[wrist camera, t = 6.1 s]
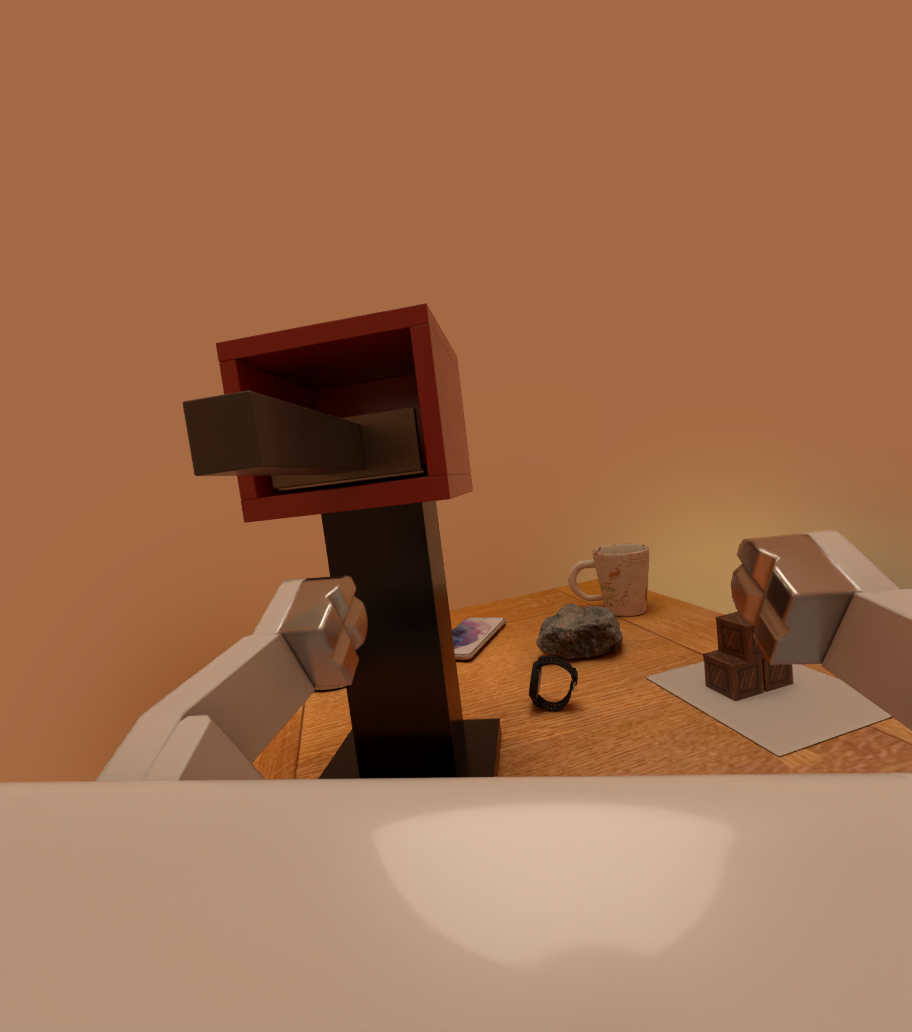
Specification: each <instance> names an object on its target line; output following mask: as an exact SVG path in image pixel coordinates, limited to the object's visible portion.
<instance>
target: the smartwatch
mask: <svg viewBox="0 0 912 1032" xmlns="http://www.w3.org/2000/svg"><path fill="white" fill-rule="evenodd" d="M556 659H557V660H556ZM552 661H554V662H552ZM556 662H558V663H556ZM560 663H561V664H560ZM548 664H555V665H559V666H561V667H563V668H564V669H566V670H567V671H568V672H569V673H570V674H571V677H572V679H573V680H572V681H571V684H570V690H569V692H568V694H567V695H566V696H565V697H564V698H563V699H562V700H561V701H559V702H549V701H546V700H545V699H543V698H542V697H541V696H540V695H539V688H540V681H541V673H542V667H543V666H545V665H548ZM577 680H578V673H577V670H576V668H573V667H572V666H571V665H570V664H569V663H568V662H567V661H565V660H563V659H561V658H559V657H553V656H542V657H539V658H538V660H537V661H536V662H534V663H533V668H532V674H531V681H530V689H529V696H530V698H531V699H532V702H533V704H534V705H536V706H538V707H540V708H542V709H545V710H548V711H559V710H561V709H563V708H564V707H565V706H566V705H567V703H568V702H569V699H570V697H571V691H573V690H574V688H575V686H576V685H577ZM547 703H548V704H549V705H548V704H547ZM551 704H552V705H551ZM558 704H559V705H558ZM543 705H544V706H543ZM555 705H556V706H555ZM547 707H548V708H547ZM550 708H552V709H550ZM554 708H555V709H554Z"/></svg>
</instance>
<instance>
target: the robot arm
mask: <svg viewBox="0 0 912 1032" xmlns="http://www.w3.org/2000/svg"><path fill="white" fill-rule="evenodd" d="M737 556H738V557H739V559H740V560H741V562H742V563H743V564H741V565H740V566H739V567H738V568H737V569H736V570H735V571H734V572H733V575H732V581H731V590H732V598H733V601H734V603H735V606H736V609H737V610H738V612H739V614H740V615H741V617H742V618H743V619H745V620H746V621H748V622H749V623H751V624H753V625H754V626H755V630H754V633H753V637H754V639H755V641H756V642H757V644H758V646H759V647H760V649H761V651H762V652H763V654H764V655H765V657H766V659H767V660H768V662H769V664H770V665H787V664H822V667H824V668H825V669H827V670H828V671H829V672H831V673H832V674H834V675H835V676H836V677H838V678H839V679H841V680H842V681H843V682H845V683H846V684H848V685H849V686H850V687H852V688H853V689H855V690H856V691H857V692H859V693H860V694H862V695H863V696H864V697H866V698H867V699H869V700H870V701H871V702H873V703H874V704H876V705H877V706H878V707H880V708H881V709H883V710H884V711H885V712H887V713H888V714H890V715H891V716H892V717H894V718H895V719H897V720H898V721H899V722H901V723H902V724H904V725H905V726H906V727H908V728H909V729H911V730H912V589H905V590H900V589H899V588H898V587H897V586H896V585H895V584H894V583H893V582H892V581H890V580H889V579H888V578H887V577H886V576H885V575H884V574H883V573H882V572H881V571H880V570H879V569H877V567H875V566H874V565H873V564H872V563H871V562H870V561H869V560H868V559H867V558H866V557H865V556H864V555H863V554H862V553H861V552H860V551H859V550H858V549H856V548H855V547H854V546H853V545H852V544H851V543H850V542H849V541H848V540H847V539H846V538H845V537H844V536H843V535H842V534H840V533H839V532H836V531H834V530H825V531H816V532H807V533H801V534H792V535H781V536H771V537H761V538H751V539H744V540H743V541H742V542H741V544H740V545H739V549H738V553H737ZM355 591H356V586H355V584H354V582H353V580H352V578H351V577H349V576H336V577H321V578H307V579H298V580H287V581H285V582H283V583H282V584H281V585H280V587H279V589H278V591H277V592H276V594H275V596H274V598H273V599H272V601H271V603H270V604H269V606H268V608H267V610H266V611H265V613H264V615H263V617H262V619H261V620H260V622H259V624H258V625H257V627H256V629H255V631H254V633H253V634H252V636H245V637H244V638H243V639H241V640H240V641H238V642H237V643H236V644H235V645H233V646H232V647H230V648H229V649H228V650H226V651H225V652H224V653H223V654H221V655H220V656H219V657H217V658H216V659H215V660H213V661H212V662H211V663H209V664H208V665H207V666H206V667H204V668H203V669H201V670H200V671H199V672H198V673H196V674H195V675H194V676H192V677H191V678H190V679H188V680H187V681H186V682H184V683H183V684H182V685H180V686H179V687H178V688H177V689H175V690H174V691H173V692H172V693H170V694H169V695H167V696H166V697H165V698H163V699H162V700H161V701H160V702H158V703H157V704H155V705H154V706H153V707H152V708H150V709H149V710H148V711H146V712H145V713H144V714H142V715H141V716H140V718H139V719H138V721H137V722H136V723H135V725H134V726H133V728H132V729H131V731H130V732H129V733H128V735H127V736H126V738H125V739H124V741H123V742H122V743H121V745H120V746H119V748H118V749H117V751H116V752H115V754H114V755H113V756H112V758H111V759H110V761H109V762H108V764H107V765H106V766H105V768H104V769H103V771H102V772H101V774H100V775H99V777H98V778H97V780H96V781H88V782H87V781H82V782H81V781H80V782H0V1032H912V773H825V774H731V775H636V776H547V777H463V778H372V779H280V780H265V778H264V777H263V776H262V775H261V773H260V772H259V771H258V770H257V769H256V768H255V767H254V766H253V765H252V763H253V761H254V760H255V759H256V758H257V757H258V756H259V755H260V753H261V752H262V751H263V750H264V749H265V748H266V746H267V745H268V744H269V743H270V742H271V741H272V739H273V738H274V737H275V736H276V735H277V734H278V733H279V731H280V730H281V729H282V728H283V727H284V726H285V724H286V723H287V722H288V721H289V720H290V719H291V718H292V716H293V715H294V714H295V713H296V712H297V711H298V709H299V708H300V707H301V706H302V705H303V704H304V702H305V701H306V700H307V699H308V698H309V697H310V696H311V694H312V693H313V692H314V691H315V688H320V687H333V686H345V685H351V684H352V681H353V678H354V674H355V671H356V668H357V665H358V661H359V658H358V655H357V653H356V650H357V649H358V648H359V647H360V646H361V645H362V644H363V643H364V641H365V638H366V634H367V622H368V619H367V613H366V609H365V607H364V604H363V602H362V601H360V600H359V599H358V598H356V597H355V596H354V594H355Z"/></svg>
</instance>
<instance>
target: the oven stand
mask: <svg viewBox="0 0 912 1032" xmlns="http://www.w3.org/2000/svg"><path fill="white" fill-rule="evenodd" d="M216 347H217V353H218V360H219V362H220V363H219V365H220V371H221V376H222V383H223V389H224V395H225V394H231V393H237V392H243V391H252V392H255V393H258V394H262V395H265V396H268V397H272V398H275V399H278V400H282V401H285V402H289V403H292V404H295V405H299V406H302V407H305V408H309V409H312V410H315V411H319V412H322V413H325V414H329V415H332V416H335V417H339V418H345V417H351V416H358V415H365V414H371V413H378V412H384V411H391V410H397V409H404V408H411V407H414V408H415V409H416V415H417V423H418V431H419V439H420V447H421V455H422V463H423V464H425V465H427V469H428V476H421V477H413V478H405V479H397V480H389V481H381V482H373V483H365V484H357V485H349V486H341V487H333V488H319V489H306V490H293V491H278V489H273V485H272V479H271V475H257V476H237V477H238V484H239V490H240V496H241V504H242V511H243V516H244V522H245V523H246V522H253V521H262V520H272V519H280V518H288V517H297V516H307V515H315V514H321V516H322V523H323V529H324V536H325V544H326V550H327V557H328V564H329V571H330V577H336V576H349V577H351V578H352V580H353V582H354V584H355V586H356V591H355V594H354V596H355V597H356V598H358V599H359V600H360V601H362V602H363V604H364V607H365V609H366V613H367V619H368V622H367V634H366V638H365V641H364V643H363V644H362V645H361V646H360V647H359V648H358V649H357V650H356V653H357V655H358V658H359V661H358V665H357V668H356V671H355V674H354V678H353V681H352V684H351V685H346V688H347V695H348V702H349V709H350V716H351V722H352V730H351V731H350V733H349V734H348V736H347V737H346V739H345V740H344V742H343V743H342V745H341V746H340V748H339V749H338V751H337V752H336V754H335V755H334V757H333V758H332V760H331V761H330V762H329V764H328V765H327V767H326V768H325V770H324V771H323V773H322V774H321V776H320V777H319V779H372V778H463V777H498V766H499V755H500V744H501V726H500V719H475V720H463V716H462V708H461V700H460V692H459V684H458V676H457V668H456V660H455V652H454V644H453V636H452V628H451V620H450V612H449V604H448V596H447V588H446V580H445V571H444V563H443V555H442V548H441V539H440V532H439V523H438V515H437V509H436V508H437V507H436V501H437V500H446V499H451V498H454V497H457V496H460V495H463V494H466V493H469V492H472V491H473V488H472V479H471V473H470V472H471V471H470V463H469V454H468V446H467V438H466V429H465V420H464V412H463V403H462V395H461V387H460V379H459V370H458V360H457V356H456V354H455V352H454V350H453V349H452V347H451V345H450V343H449V342H448V340H447V338H446V337H445V335H444V333H443V331H442V330H441V328H440V326H439V324H438V323H437V321H436V319H435V317H434V316H433V314H432V312H431V311H430V309H429V307H428V305H427V304H426V303H424V304H419V305H414V306H408V307H403V308H398V309H393V310H388V311H382V312H377V313H372V314H366V315H361V316H356V317H351V318H346V319H341V320H335V321H330V322H325V323H320V324H314V325H309V326H304V327H298V328H294V329H288V330H283V331H278V332H272V333H267V334H262V335H257V336H251V337H247V338H241V339H236V340H230V341H225V342H220V343H216Z"/></svg>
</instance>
